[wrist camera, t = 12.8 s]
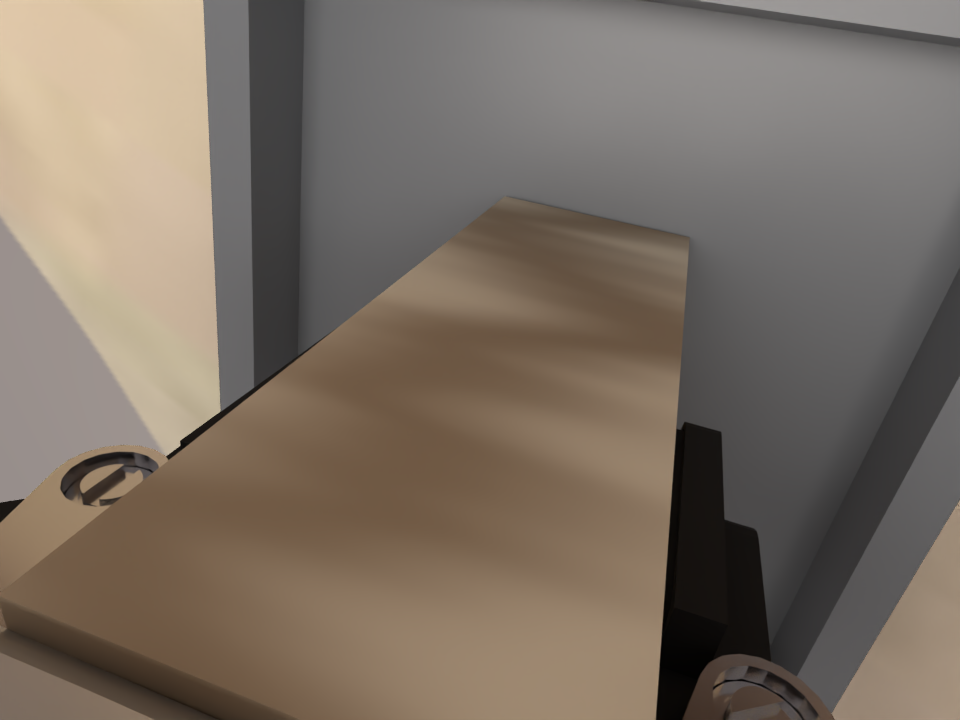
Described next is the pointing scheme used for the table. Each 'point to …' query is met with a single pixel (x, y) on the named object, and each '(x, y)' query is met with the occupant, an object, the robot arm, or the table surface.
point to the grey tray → (651, 204)
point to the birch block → (414, 502)
